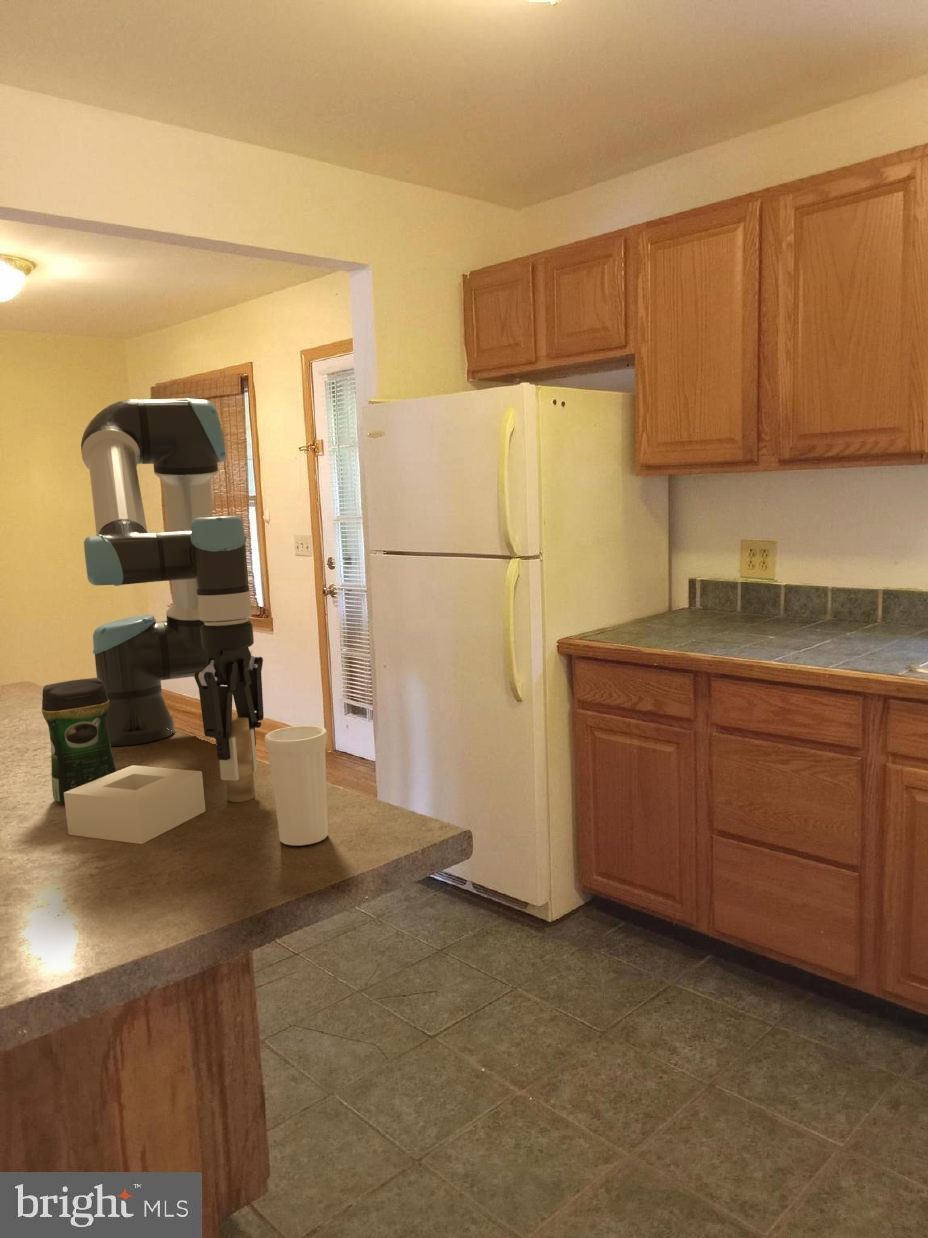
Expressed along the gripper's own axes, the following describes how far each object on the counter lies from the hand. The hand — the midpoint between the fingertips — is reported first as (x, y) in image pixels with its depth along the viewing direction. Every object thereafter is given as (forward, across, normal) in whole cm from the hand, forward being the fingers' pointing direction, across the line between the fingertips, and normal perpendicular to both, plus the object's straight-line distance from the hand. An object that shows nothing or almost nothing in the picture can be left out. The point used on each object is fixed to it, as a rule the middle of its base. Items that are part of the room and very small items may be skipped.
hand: (239, 774), depth 137 cm
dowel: (+4, 0, 0) cm, 4 cm away
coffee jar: (+4, +6, -25) cm, 26 cm away
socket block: (+4, +13, -8) cm, 16 cm away
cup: (+4, +12, +19) cm, 23 cm away
